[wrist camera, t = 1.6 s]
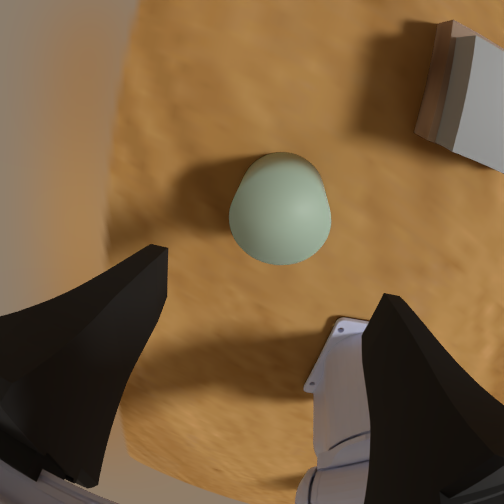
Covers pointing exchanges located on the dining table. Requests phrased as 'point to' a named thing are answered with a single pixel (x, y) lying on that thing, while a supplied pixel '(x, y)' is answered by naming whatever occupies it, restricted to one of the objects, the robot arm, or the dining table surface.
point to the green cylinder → (280, 210)
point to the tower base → (440, 77)
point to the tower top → (475, 103)
